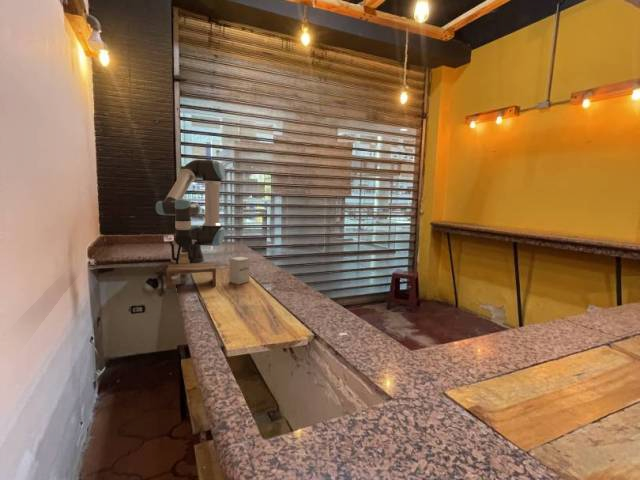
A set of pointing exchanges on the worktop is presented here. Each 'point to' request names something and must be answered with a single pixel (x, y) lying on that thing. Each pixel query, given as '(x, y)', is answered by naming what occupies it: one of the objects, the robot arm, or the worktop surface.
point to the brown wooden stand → (189, 270)
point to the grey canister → (239, 270)
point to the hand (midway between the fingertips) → (184, 272)
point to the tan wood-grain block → (183, 261)
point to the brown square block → (176, 280)
